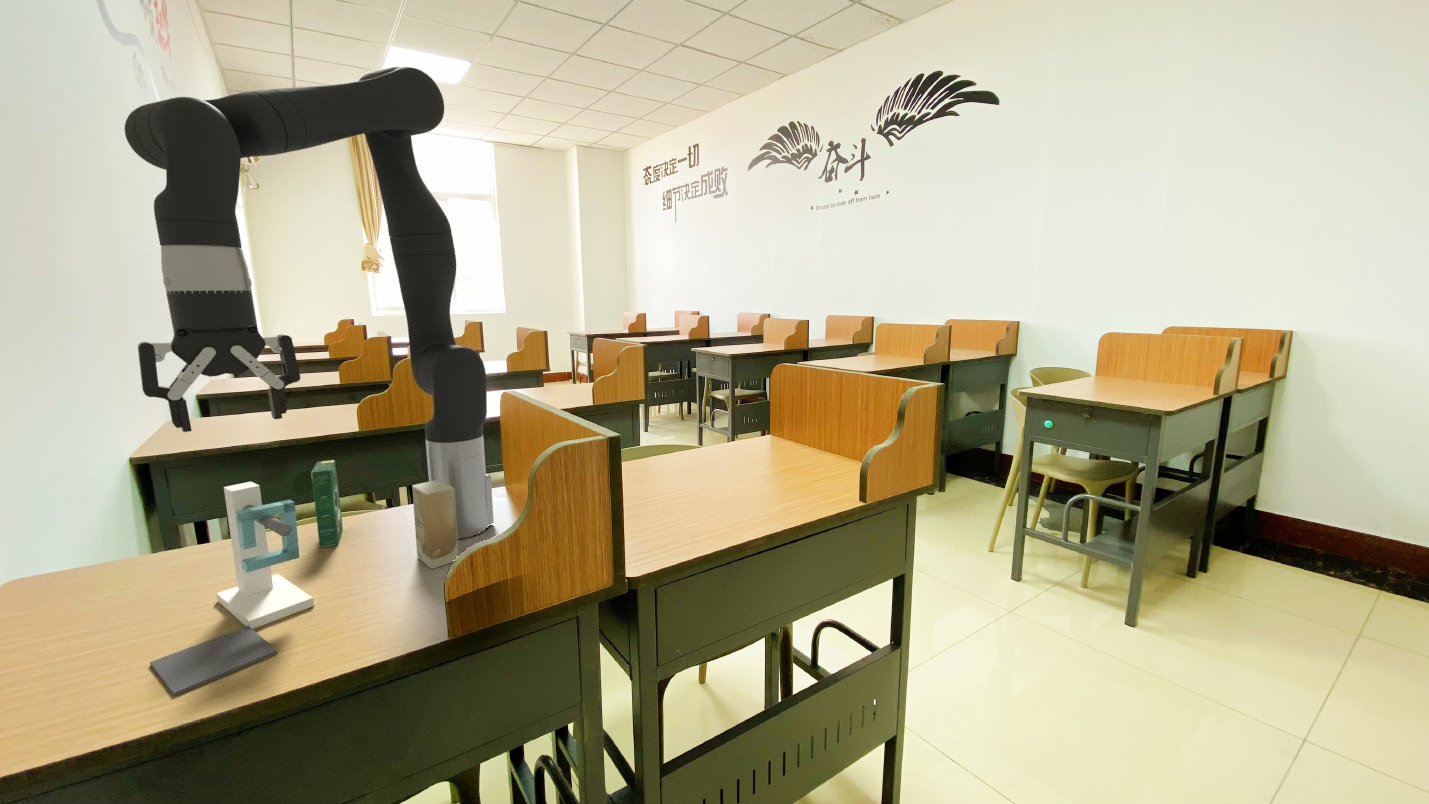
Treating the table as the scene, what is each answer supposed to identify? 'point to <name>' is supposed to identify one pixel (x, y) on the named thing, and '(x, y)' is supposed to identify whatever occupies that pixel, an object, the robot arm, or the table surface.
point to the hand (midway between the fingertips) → (233, 424)
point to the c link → (249, 539)
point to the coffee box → (327, 503)
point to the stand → (258, 589)
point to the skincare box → (435, 523)
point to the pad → (211, 659)
